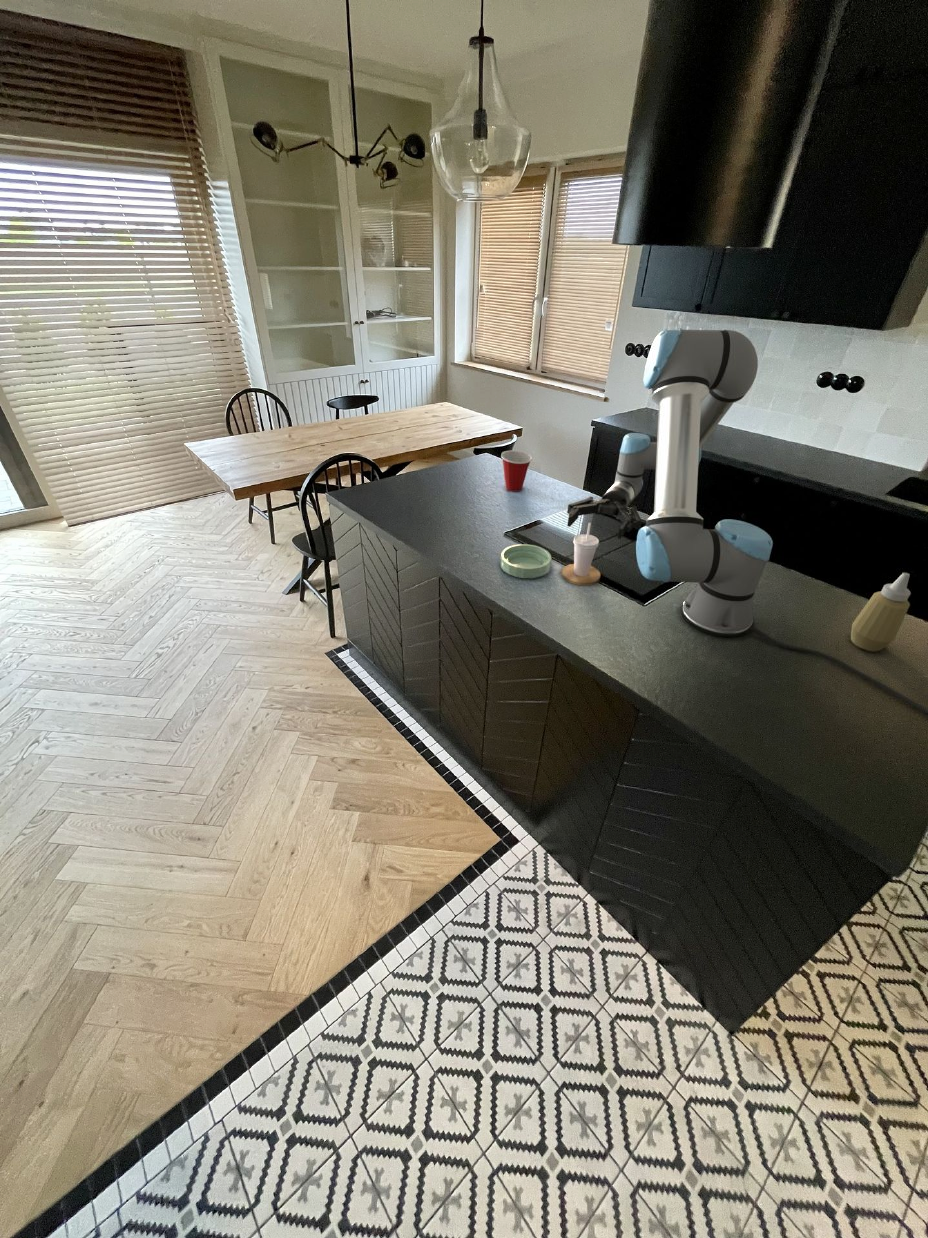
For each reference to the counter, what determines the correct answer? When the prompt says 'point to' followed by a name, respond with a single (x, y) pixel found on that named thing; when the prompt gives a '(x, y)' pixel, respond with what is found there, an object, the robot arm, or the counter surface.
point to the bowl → (525, 561)
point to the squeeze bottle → (882, 616)
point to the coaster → (580, 580)
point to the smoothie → (584, 552)
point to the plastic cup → (515, 468)
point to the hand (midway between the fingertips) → (594, 527)
